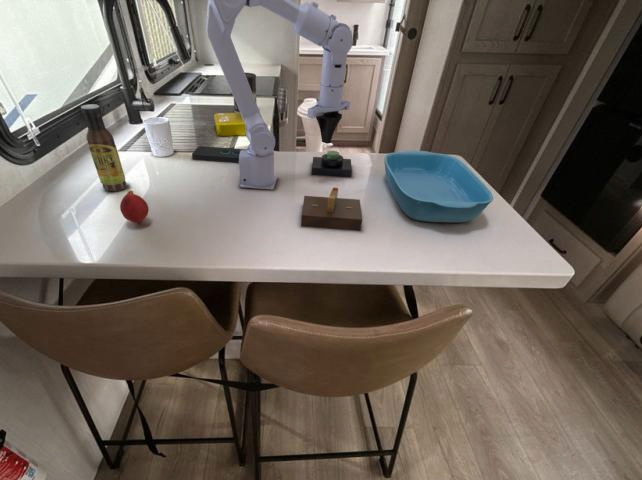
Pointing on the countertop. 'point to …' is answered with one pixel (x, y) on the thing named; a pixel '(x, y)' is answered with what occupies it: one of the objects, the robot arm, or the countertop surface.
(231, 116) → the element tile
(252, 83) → the coffee can
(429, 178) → the casserole dish
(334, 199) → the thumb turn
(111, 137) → the sauce bottle
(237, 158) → the smart home device
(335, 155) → the release button
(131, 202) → the onion
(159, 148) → the white cup
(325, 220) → the plate
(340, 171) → the push button box
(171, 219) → the countertop surface
